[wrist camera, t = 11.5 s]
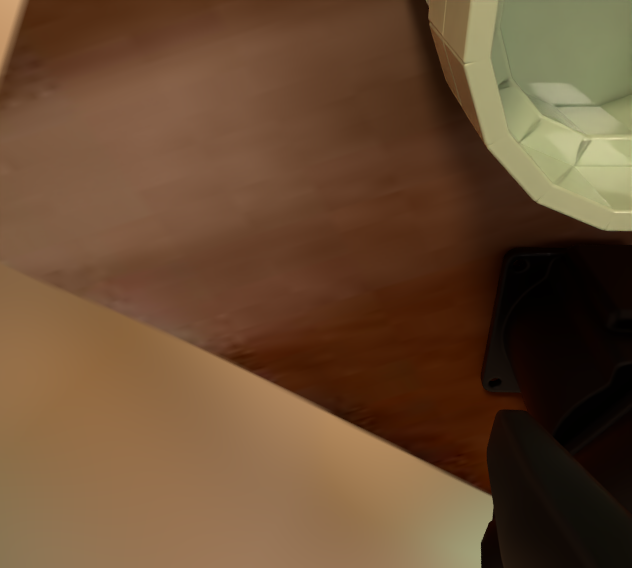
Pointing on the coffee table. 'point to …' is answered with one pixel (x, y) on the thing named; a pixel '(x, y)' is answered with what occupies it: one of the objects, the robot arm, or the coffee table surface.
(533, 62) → the bowl
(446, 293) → the coffee table surface
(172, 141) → the coffee table surface
